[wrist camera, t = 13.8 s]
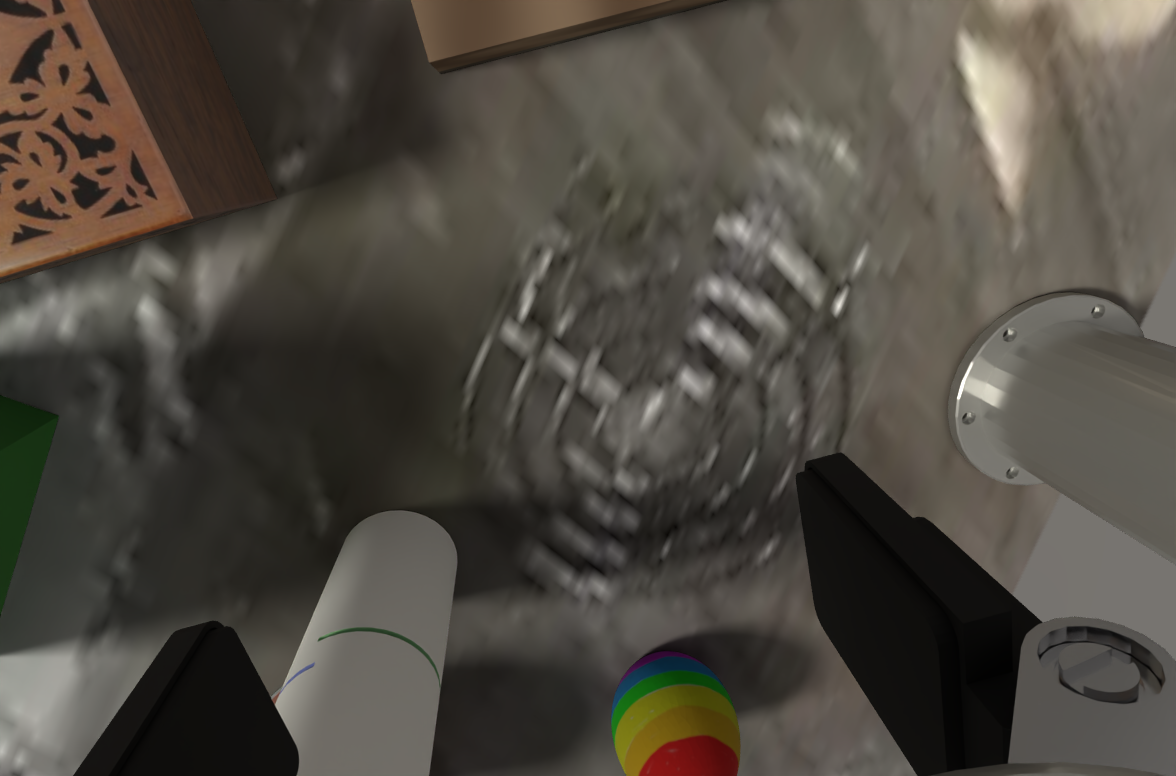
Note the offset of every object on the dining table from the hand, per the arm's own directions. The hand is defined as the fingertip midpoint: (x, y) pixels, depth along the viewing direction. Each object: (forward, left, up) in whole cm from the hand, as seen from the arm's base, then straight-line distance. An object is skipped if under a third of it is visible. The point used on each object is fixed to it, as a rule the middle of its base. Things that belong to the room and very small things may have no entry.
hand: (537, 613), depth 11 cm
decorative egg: (-2, +30, -28) cm, 41 cm away
